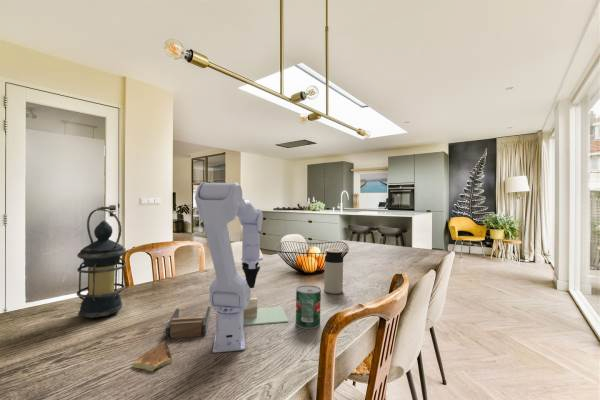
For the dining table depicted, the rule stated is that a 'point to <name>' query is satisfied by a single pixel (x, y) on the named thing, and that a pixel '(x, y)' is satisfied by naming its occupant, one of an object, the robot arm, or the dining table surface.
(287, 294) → the dining table surface
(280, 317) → the rubber mat
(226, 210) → the robot arm
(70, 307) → the dining table surface
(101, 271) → the lantern
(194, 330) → the offcut stack
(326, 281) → the travel mug
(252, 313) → the birch block
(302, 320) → the canned tomato
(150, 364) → the shard
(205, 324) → the rack
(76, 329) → the dining table surface
